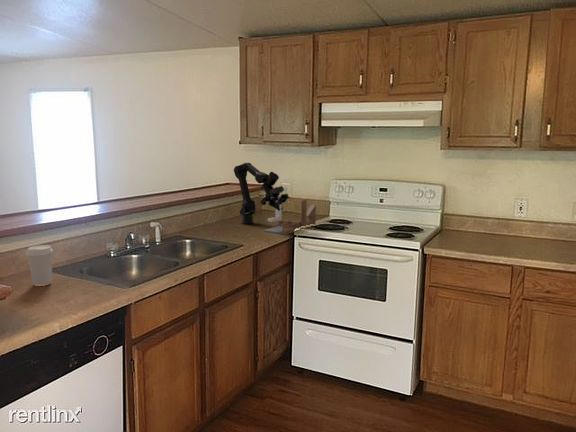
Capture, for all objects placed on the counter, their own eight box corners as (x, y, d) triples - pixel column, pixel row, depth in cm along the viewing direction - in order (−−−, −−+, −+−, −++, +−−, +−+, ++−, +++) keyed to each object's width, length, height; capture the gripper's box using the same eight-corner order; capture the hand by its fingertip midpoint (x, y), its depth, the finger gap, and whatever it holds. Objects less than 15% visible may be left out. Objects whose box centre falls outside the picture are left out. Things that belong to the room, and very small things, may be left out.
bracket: (267, 221, 293) (267, 204, 291) (277, 219, 298) (277, 203, 296) (271, 222, 290) (271, 205, 288) (281, 220, 295) (281, 204, 293)
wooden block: (315, 226, 311) (315, 199, 308) (303, 228, 304) (303, 200, 301) (311, 225, 314) (311, 198, 311) (299, 227, 307) (299, 199, 304)
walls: (263, 230, 295) (263, 223, 295) (280, 225, 310) (280, 219, 309) (284, 233, 286) (284, 226, 286) (301, 228, 301) (301, 222, 300)
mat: (263, 231, 295) (263, 230, 295) (280, 226, 310) (280, 225, 310) (284, 234, 286) (284, 233, 286) (301, 229, 301) (301, 228, 301)
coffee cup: (23, 286, 188) (19, 249, 185) (43, 279, 197) (40, 244, 194) (41, 289, 185) (38, 251, 182) (61, 282, 193) (58, 245, 191)
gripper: (263, 182, 288) (275, 203, 282) (286, 181, 300) (298, 200, 294) (255, 194, 295) (266, 214, 289) (278, 192, 307) (290, 211, 301)
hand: (280, 210), depth 293 cm, fingers closed on bracket, 2 cm apart
